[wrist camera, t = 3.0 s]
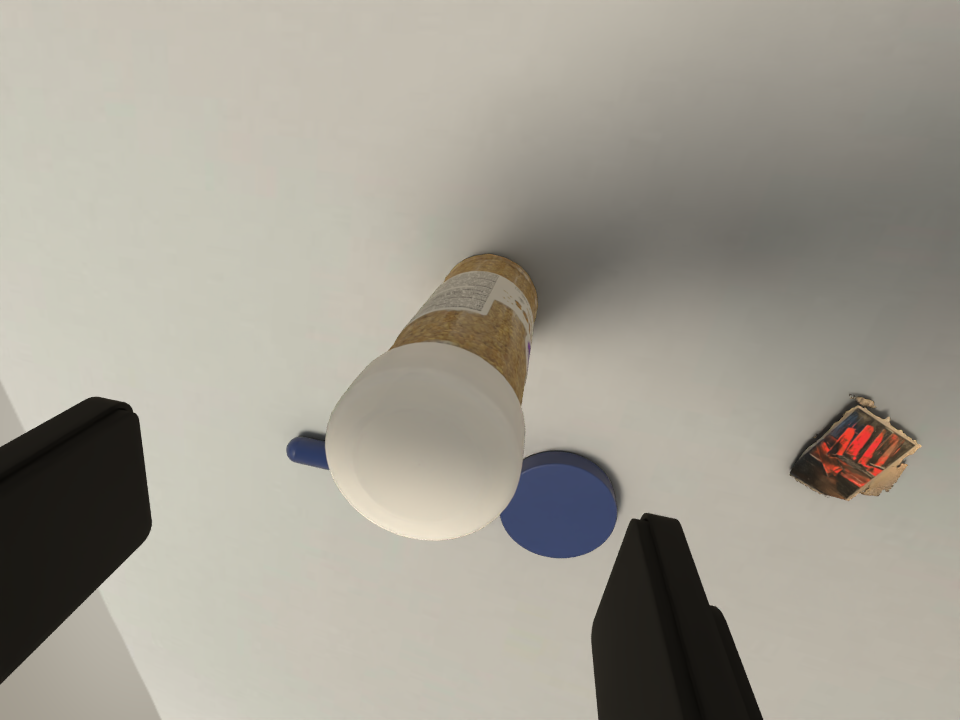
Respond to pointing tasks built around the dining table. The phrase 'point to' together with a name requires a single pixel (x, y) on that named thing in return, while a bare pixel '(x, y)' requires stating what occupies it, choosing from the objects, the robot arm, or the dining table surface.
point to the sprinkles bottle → (441, 409)
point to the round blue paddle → (536, 500)
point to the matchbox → (855, 455)
